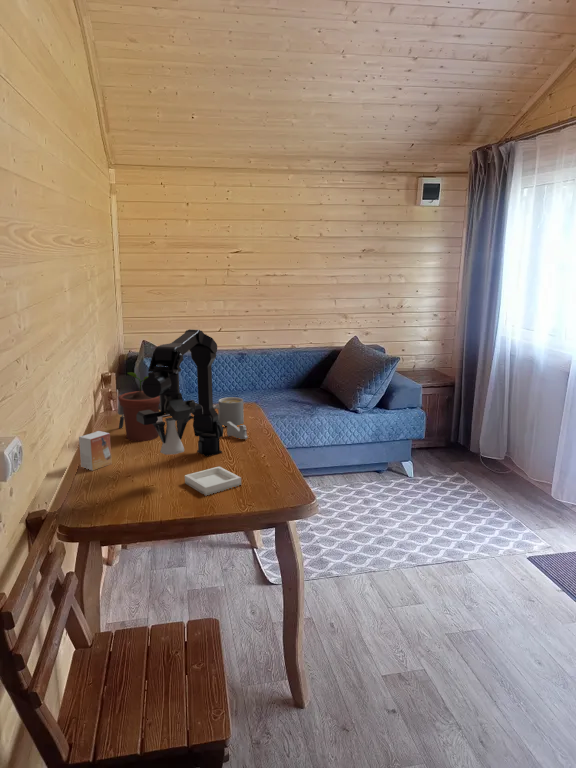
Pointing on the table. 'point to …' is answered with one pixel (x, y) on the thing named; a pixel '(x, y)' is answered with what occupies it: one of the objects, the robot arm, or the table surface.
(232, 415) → the coffee mug
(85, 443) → the small box
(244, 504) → the table surface
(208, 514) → the table surface
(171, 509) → the table surface
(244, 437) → the grey tape dispenser
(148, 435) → the potted plant
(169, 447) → the flask
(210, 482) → the shaker caddy
